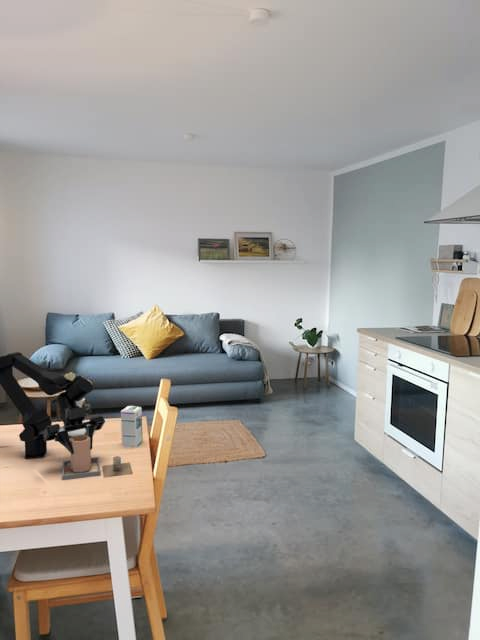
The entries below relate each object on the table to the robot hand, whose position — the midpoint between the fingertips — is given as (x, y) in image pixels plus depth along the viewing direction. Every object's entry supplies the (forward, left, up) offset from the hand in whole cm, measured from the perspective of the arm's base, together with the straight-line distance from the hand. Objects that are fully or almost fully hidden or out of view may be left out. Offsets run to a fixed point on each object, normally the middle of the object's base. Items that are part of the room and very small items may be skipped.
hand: (82, 451), depth 161 cm
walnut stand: (+11, -2, -8) cm, 13 cm away
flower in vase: (-1, +37, -8) cm, 38 cm away
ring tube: (0, +1, -6) cm, 6 cm away
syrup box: (+18, +19, -8) cm, 27 cm away
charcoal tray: (0, +1, -8) cm, 8 cm away
